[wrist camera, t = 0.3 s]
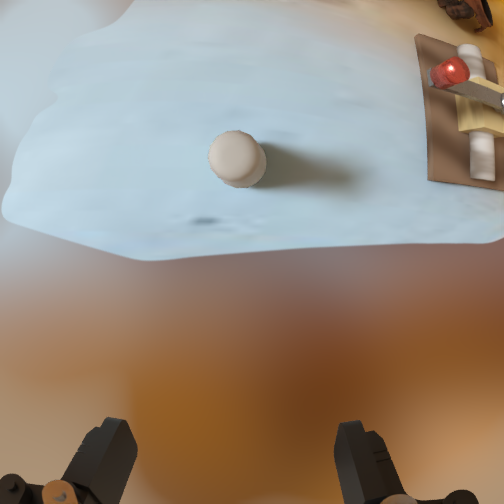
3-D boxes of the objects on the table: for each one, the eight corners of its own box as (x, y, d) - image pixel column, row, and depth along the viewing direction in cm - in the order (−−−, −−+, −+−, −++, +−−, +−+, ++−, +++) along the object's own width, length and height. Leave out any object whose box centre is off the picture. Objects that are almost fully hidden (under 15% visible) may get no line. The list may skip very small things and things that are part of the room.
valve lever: (508, 97, 23) (533, 91, 18) (511, 118, 24) (537, 115, 18) (422, 66, 23) (447, 51, 18) (426, 90, 24) (452, 79, 19)
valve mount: (414, 37, 30) (442, 14, 21) (488, 64, 29) (520, 52, 21) (427, 180, 35) (465, 182, 26) (500, 190, 34) (536, 195, 26)
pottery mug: (441, -18, 26) (478, -21, 19) (461, 25, 32) (497, 25, 25) (423, -6, 25) (468, -10, 18) (447, 44, 31) (490, 45, 24)
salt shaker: (236, 131, 34) (225, 105, 21) (275, 158, 35) (286, 145, 22) (208, 170, 35) (182, 164, 22) (246, 197, 36) (241, 206, 23)
